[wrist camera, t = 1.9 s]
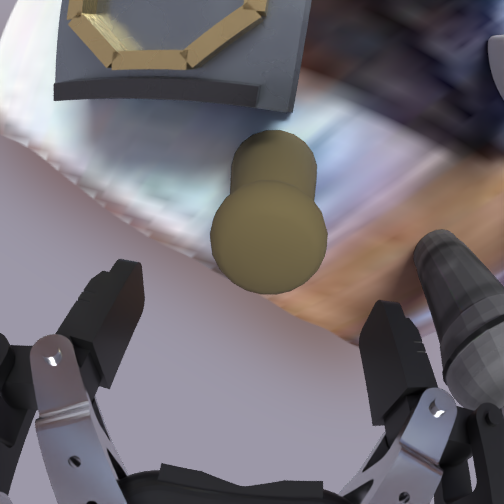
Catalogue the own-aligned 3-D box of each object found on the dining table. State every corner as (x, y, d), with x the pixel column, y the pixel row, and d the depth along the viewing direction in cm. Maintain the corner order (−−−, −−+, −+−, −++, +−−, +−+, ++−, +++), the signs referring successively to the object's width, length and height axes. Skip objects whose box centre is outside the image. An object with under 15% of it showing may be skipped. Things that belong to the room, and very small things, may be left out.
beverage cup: (458, 283, 26) (537, 474, 9) (391, 286, 27) (449, 510, 10) (478, 215, 22) (609, 413, 5) (406, 213, 23) (526, 465, 6)
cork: (292, 222, 24) (296, 331, 15) (219, 189, 23) (175, 284, 14) (332, 154, 21) (371, 233, 12) (252, 115, 20) (225, 163, 11)
